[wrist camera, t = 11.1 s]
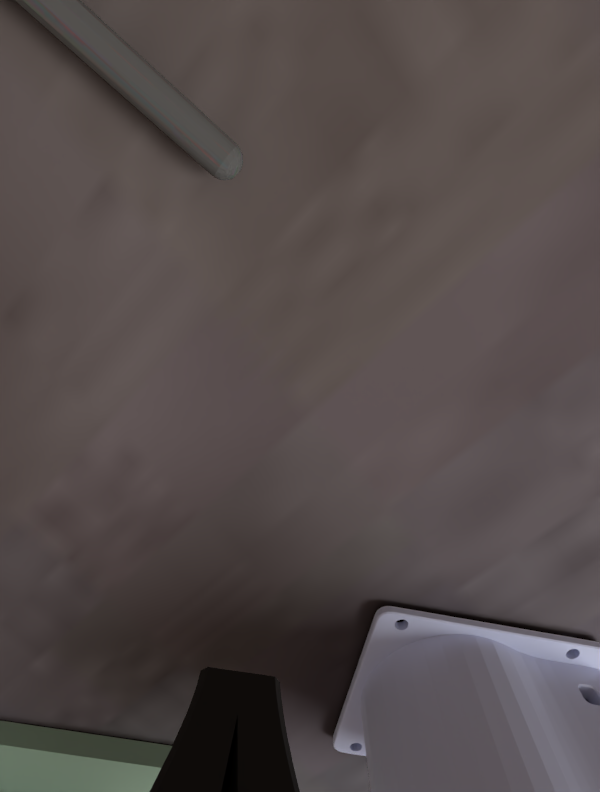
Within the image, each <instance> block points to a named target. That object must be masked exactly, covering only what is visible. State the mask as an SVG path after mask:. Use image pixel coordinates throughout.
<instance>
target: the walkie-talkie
mask: <svg viewBox="0 0 600 792" xmlns="http://www.w3.org/2000/svg"><path fill="white" fill-rule="evenodd" d="M15 1H16V2H17V3H19V4H20V5H21V6H22V7H23V8H24V9H25V10H26V11H28V12H29V13H30V14H31V15H32V16H33V17H34V18H35V19H37V20H38V21H39V22H40V23H41V24H42V25H43V26H44V27H46V28H47V29H48V30H49V31H50V32H51V33H52V34H53V35H55V36H56V37H57V38H58V39H59V40H60V41H61V42H62V43H64V44H65V45H66V46H67V47H68V48H69V49H70V50H71V51H73V52H74V53H75V54H76V55H77V56H78V57H79V58H81V59H82V60H83V61H84V62H85V63H86V64H87V65H88V66H90V67H91V68H92V69H93V70H94V71H95V72H96V73H97V74H99V75H100V76H101V77H102V78H103V79H104V80H105V81H106V82H108V83H109V84H110V85H111V86H112V87H113V88H114V89H115V90H117V91H118V92H119V93H120V94H121V95H122V96H123V97H124V98H126V99H127V100H128V101H129V102H130V103H131V104H132V105H133V106H135V107H136V108H137V109H138V110H139V111H140V112H141V113H143V114H144V115H145V116H146V117H147V118H148V119H149V120H150V121H152V122H153V123H154V124H155V125H156V126H157V127H158V128H159V129H161V130H162V131H163V132H164V133H165V134H166V135H167V136H168V137H170V138H171V139H172V140H173V141H174V142H175V143H176V144H177V145H179V146H180V147H181V148H182V149H183V150H184V151H185V152H186V153H188V154H189V155H190V156H191V157H192V158H193V159H194V160H195V161H197V162H198V163H199V164H200V165H201V166H202V167H203V168H204V169H206V170H207V171H208V172H209V173H210V174H211V175H212V176H214V177H215V178H217V179H220V180H229V179H232V178H234V177H235V176H236V175H237V174H238V173H239V172H240V170H241V168H242V165H243V154H242V152H241V150H240V148H239V146H238V145H237V144H236V143H235V142H234V141H233V140H231V139H230V138H229V137H228V136H227V135H226V134H225V133H224V132H223V131H222V130H221V129H220V128H218V127H217V126H216V125H215V124H214V123H213V122H212V121H211V120H210V119H209V118H208V117H206V116H205V115H204V114H203V113H202V112H201V111H200V110H199V109H198V108H197V107H196V106H194V105H193V104H192V103H191V102H190V101H189V100H188V99H187V98H186V97H185V96H184V95H182V94H181V93H180V92H179V91H178V90H177V89H176V88H175V87H174V86H173V85H172V84H171V83H169V82H168V81H167V80H166V79H165V78H164V77H163V76H162V75H161V74H160V73H159V72H157V71H156V70H155V69H154V68H153V67H152V66H151V65H150V64H149V63H148V62H147V61H145V60H144V59H143V58H142V57H141V56H140V55H139V54H138V53H137V52H136V51H135V50H133V49H132V48H131V47H130V46H129V45H128V44H127V43H126V42H125V41H124V40H123V39H121V38H120V37H119V36H118V35H117V34H116V33H115V32H114V31H113V30H112V29H111V28H110V27H108V26H107V25H106V24H105V23H104V22H103V21H102V20H101V19H100V18H99V17H98V16H96V15H95V14H94V13H93V12H92V11H91V10H90V9H89V8H88V7H87V6H86V5H84V4H83V3H82V2H81V1H80V0H15Z"/></svg>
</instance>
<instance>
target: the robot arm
mask: <svg viewBox="0 0 600 792" xmlns="http://www.w3.org/2000/svg"><path fill="white" fill-rule="evenodd" d="M398 620H405V621H403V622H396V621H398ZM571 649H572V650H571ZM569 650H570V651H569ZM333 746H334V748H335V749H336V750H337V751H339V752H343V753H349V754H356V755H363V756H366V759H367V768H368V777H369V786H370V792H600V642H596V641H591V640H585V639H579V638H573V637H568V636H562V635H556V634H550V633H544V632H539V631H533V630H527V629H521V628H516V627H510V626H504V625H498V624H492V623H487V622H481V621H475V620H469V619H464V618H458V617H452V616H446V615H440V614H435V613H429V612H423V611H417V610H411V609H406V608H400V607H394V606H384V607H381V608H380V609H378V610H377V611H376V613H375V615H374V618H373V621H372V624H371V627H370V630H369V633H368V636H367V639H366V642H365V644H364V647H363V650H362V653H361V656H360V659H359V662H358V665H357V668H356V671H355V673H354V676H353V679H352V682H351V685H350V688H349V691H348V694H347V697H346V700H345V702H344V705H343V708H342V711H341V714H340V717H339V720H338V723H337V726H336V729H335V731H334V734H333ZM150 792H300V791H299V787H298V783H297V779H296V775H295V771H294V766H293V762H292V757H291V752H290V748H289V743H288V738H287V733H286V727H285V721H284V715H283V709H282V701H281V692H280V682H279V681H278V680H277V679H276V677H273V676H266V675H259V674H252V673H245V672H238V671H231V670H225V669H218V668H211V667H207V668H205V669H203V670H202V671H201V672H200V676H199V680H198V683H197V687H196V690H195V693H194V695H193V698H192V701H191V704H190V706H189V709H188V712H187V714H186V716H185V719H184V721H183V723H182V726H181V728H180V730H179V732H178V735H177V737H176V739H175V741H174V744H173V746H172V748H171V750H170V752H169V754H168V756H167V758H166V760H165V762H164V764H163V766H162V768H161V770H160V772H159V774H158V776H157V778H156V780H155V782H154V784H153V786H152V788H151V790H150Z"/></svg>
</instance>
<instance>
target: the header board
mask: <svg viewBox="0 0 600 792" xmlns="http://www.w3.org/2000/svg"><path fill="white" fill-rule="evenodd" d="M171 748H172V746H170V745H163V744H156V743H149V742H143V741H136V740H129V739H122V738H115V737H109V736H102V735H95V734H88V733H81V732H75V731H68V730H61V729H54V728H48V727H41V726H34V725H27V724H20V723H14V722H7V721H0V792H150V790H151V788H152V786H153V784H154V782H155V780H156V778H157V776H158V774H159V772H160V770H161V768H162V766H163V764H164V762H165V760H166V758H167V756H168V754H169V752H170V750H171Z"/></svg>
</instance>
